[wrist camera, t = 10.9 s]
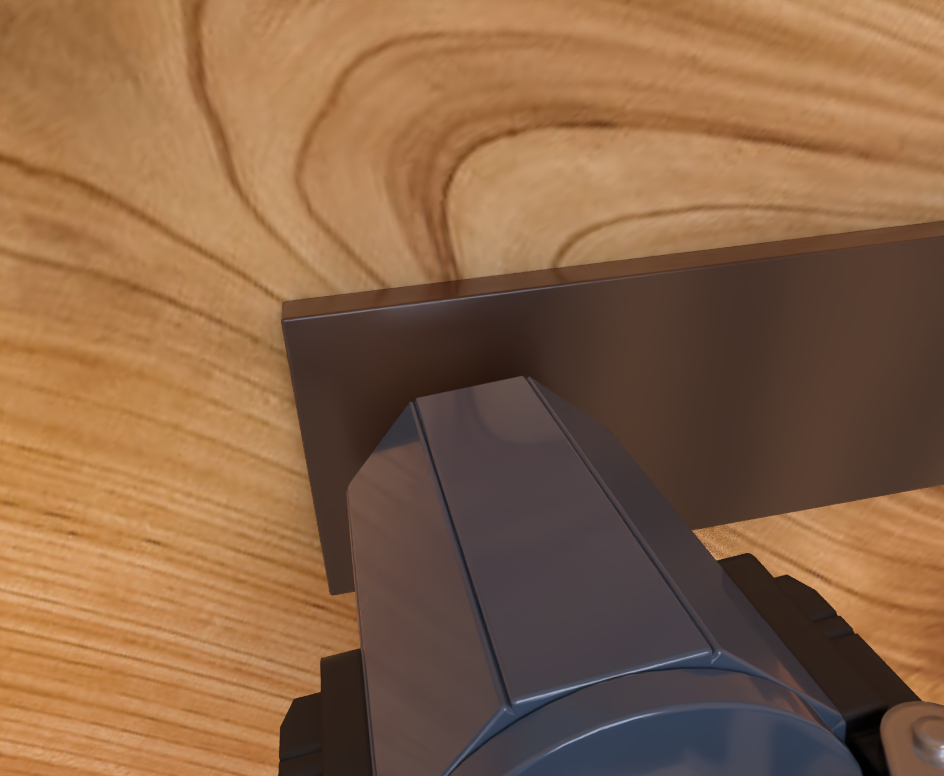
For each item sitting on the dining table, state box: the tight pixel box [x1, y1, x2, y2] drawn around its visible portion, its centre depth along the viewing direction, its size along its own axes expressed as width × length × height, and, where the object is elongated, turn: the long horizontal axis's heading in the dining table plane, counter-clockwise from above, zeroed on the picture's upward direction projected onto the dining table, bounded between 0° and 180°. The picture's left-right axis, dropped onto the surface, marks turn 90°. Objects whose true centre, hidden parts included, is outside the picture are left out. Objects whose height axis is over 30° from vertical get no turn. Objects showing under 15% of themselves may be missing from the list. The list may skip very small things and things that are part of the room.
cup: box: [346, 376, 864, 776], centre depth 13 cm, size 6×6×9 cm
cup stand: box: [281, 221, 944, 595], centre depth 17 cm, size 22×8×12 cm, turn 94°
